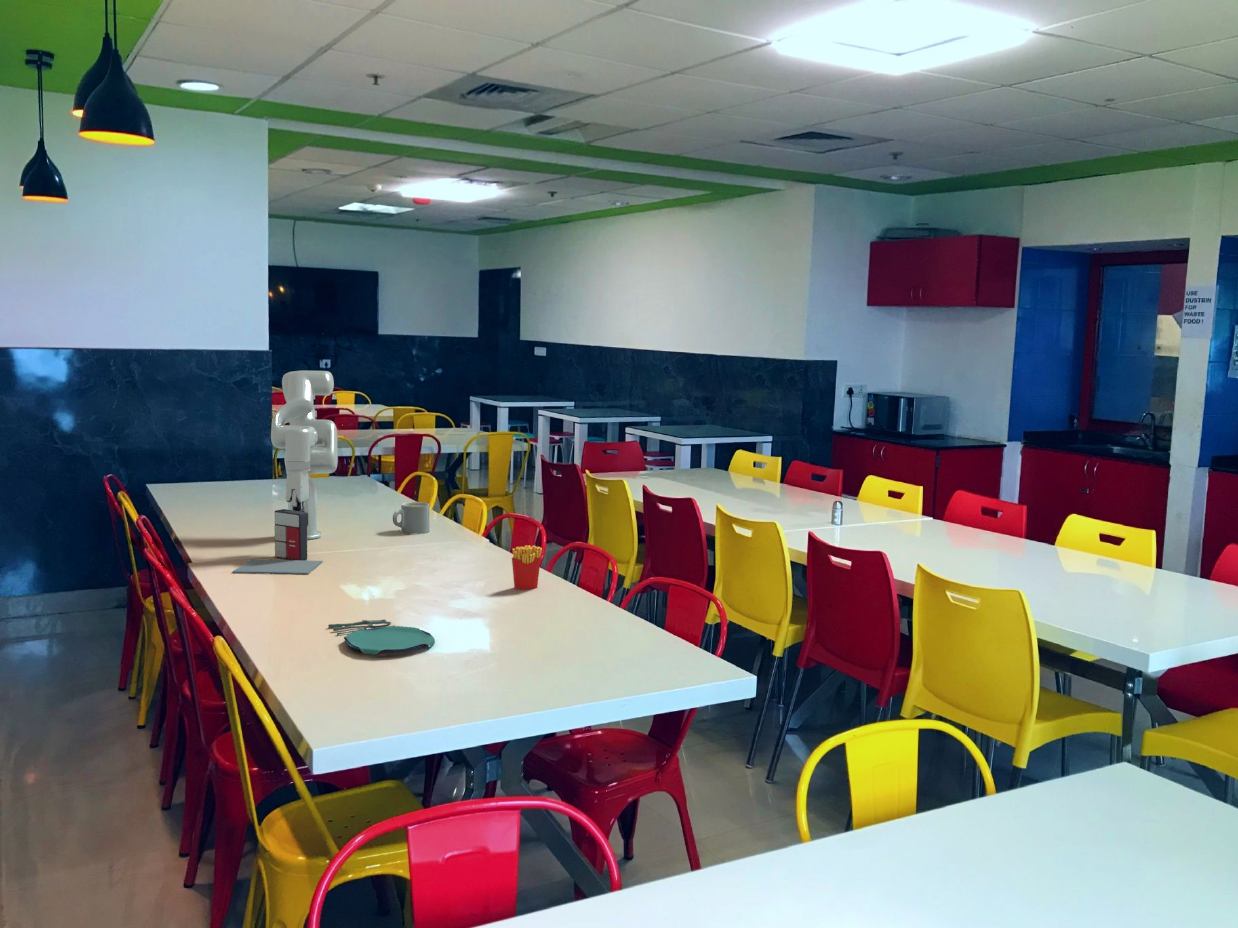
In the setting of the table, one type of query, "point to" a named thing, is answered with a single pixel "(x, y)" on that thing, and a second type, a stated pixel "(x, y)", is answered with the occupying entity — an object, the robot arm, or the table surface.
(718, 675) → the table surface
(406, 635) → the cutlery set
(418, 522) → the coffee mug
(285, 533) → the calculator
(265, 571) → the mat
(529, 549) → the french fries
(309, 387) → the robot arm
